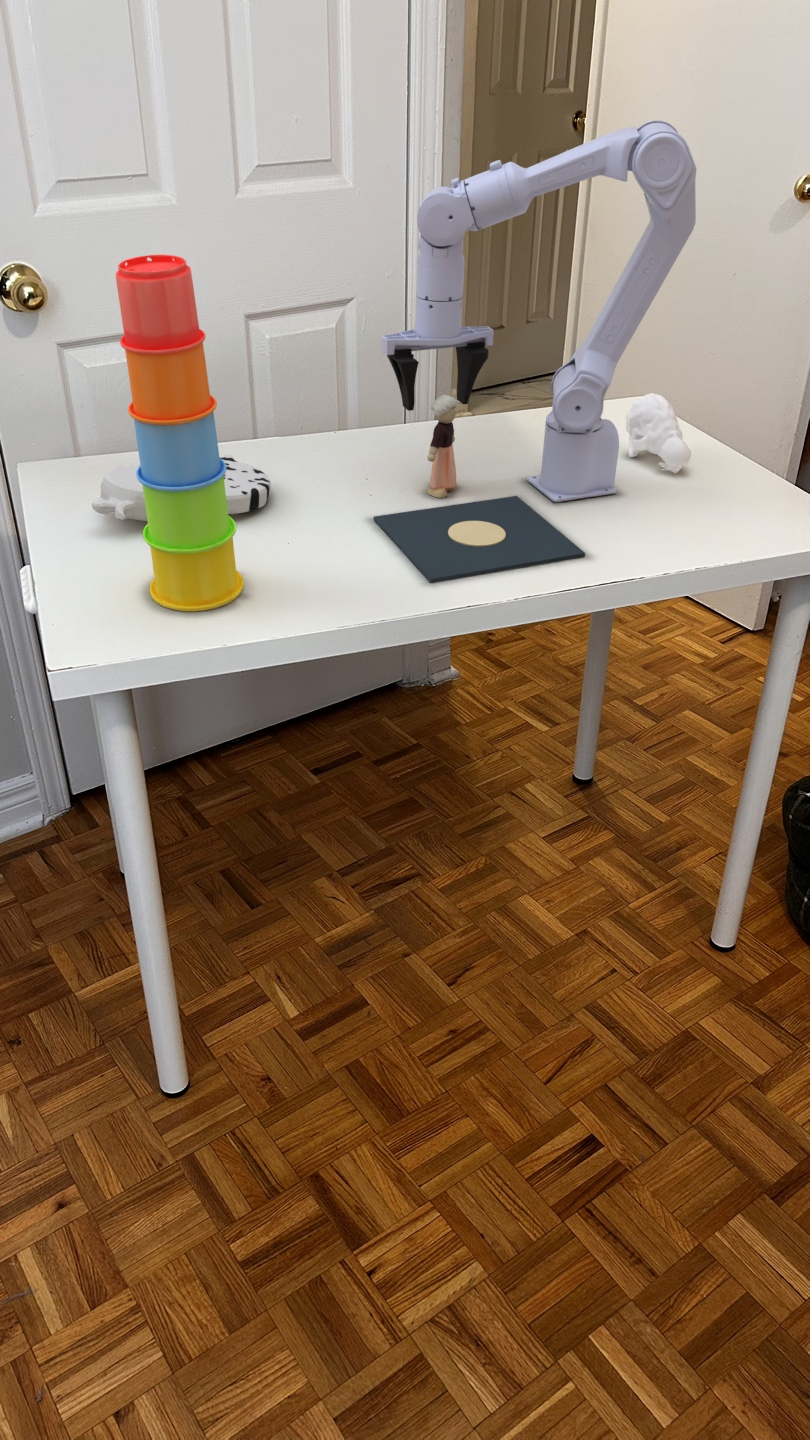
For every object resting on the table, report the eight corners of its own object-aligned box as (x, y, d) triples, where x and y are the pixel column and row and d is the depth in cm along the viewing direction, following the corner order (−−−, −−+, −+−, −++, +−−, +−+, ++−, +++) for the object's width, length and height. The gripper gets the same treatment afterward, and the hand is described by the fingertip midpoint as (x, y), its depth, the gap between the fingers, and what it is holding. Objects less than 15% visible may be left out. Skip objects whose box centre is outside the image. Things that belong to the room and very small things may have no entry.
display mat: (516, 499, 147) (516, 494, 147) (585, 556, 133) (585, 551, 133) (373, 520, 141) (373, 514, 140) (430, 582, 127) (430, 577, 127)
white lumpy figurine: (665, 386, 159) (712, 422, 151) (653, 442, 165) (698, 479, 156) (626, 390, 157) (672, 427, 149) (615, 447, 163) (659, 485, 154)
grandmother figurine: (451, 502, 146) (456, 406, 139) (422, 499, 146) (425, 403, 139) (460, 480, 152) (466, 387, 145) (432, 477, 152) (436, 384, 145)
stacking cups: (242, 612, 120) (219, 272, 101) (145, 613, 120) (103, 271, 100) (245, 568, 129) (225, 247, 109) (155, 569, 128) (118, 246, 108)
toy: (95, 477, 149) (91, 534, 132) (95, 442, 146) (91, 495, 130) (260, 489, 154) (277, 544, 137) (263, 455, 152) (280, 508, 135)
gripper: (479, 284, 143) (473, 389, 151) (372, 292, 139) (372, 401, 146) (503, 297, 138) (496, 406, 146) (393, 306, 133) (391, 418, 141)
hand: (435, 405), depth 146 cm, fingers open, 7 cm apart
